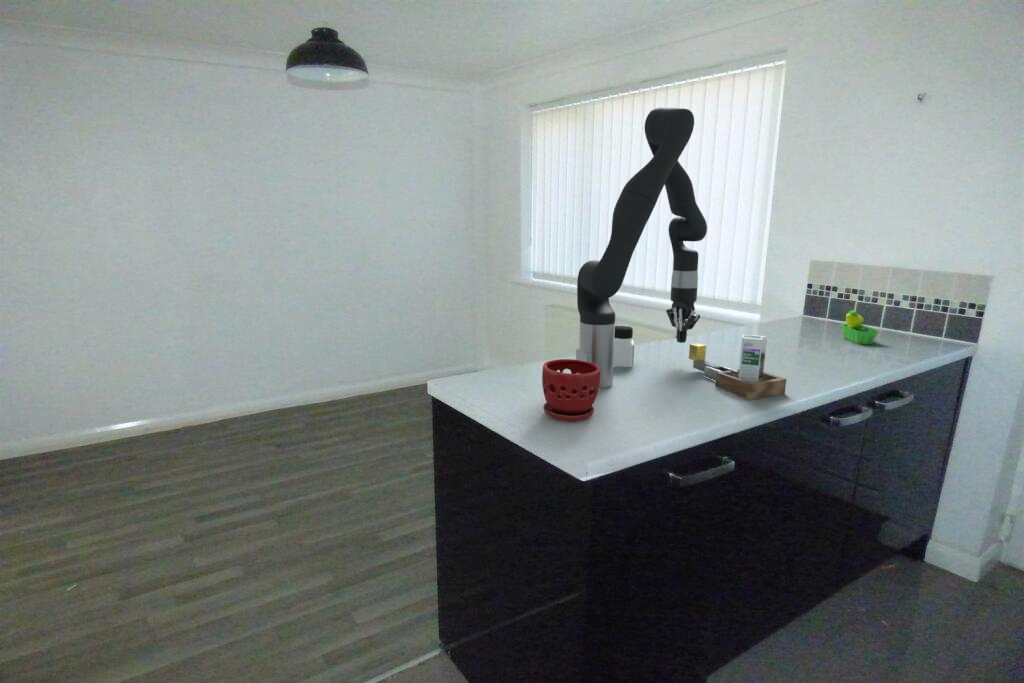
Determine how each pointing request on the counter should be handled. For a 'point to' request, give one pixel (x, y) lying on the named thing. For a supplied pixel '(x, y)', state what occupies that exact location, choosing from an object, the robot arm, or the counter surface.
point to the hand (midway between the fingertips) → (681, 342)
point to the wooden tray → (751, 385)
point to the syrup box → (752, 358)
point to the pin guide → (711, 371)
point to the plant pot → (570, 389)
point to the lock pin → (700, 357)
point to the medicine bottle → (623, 346)
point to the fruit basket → (857, 329)
